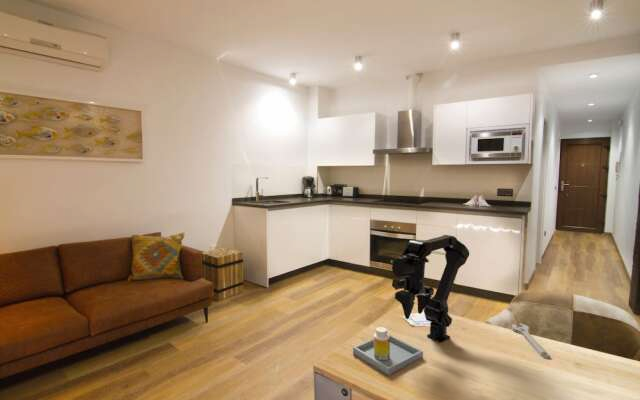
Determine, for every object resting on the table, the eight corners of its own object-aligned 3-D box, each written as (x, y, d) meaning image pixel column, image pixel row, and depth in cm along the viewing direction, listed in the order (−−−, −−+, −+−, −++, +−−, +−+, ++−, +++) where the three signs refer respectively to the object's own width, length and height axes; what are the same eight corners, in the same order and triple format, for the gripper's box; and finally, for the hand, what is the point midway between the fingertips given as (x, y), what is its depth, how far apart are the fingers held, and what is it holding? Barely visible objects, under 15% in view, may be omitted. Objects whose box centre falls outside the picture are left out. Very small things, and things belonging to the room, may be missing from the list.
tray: (386, 339, 137) (386, 333, 137) (422, 357, 123) (422, 351, 123) (353, 353, 127) (353, 347, 127) (388, 376, 113) (388, 368, 113)
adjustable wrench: (550, 360, 120) (551, 355, 120) (530, 358, 122) (530, 353, 122) (525, 327, 144) (526, 323, 144) (509, 326, 146) (509, 322, 146)
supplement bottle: (391, 361, 120) (390, 333, 120) (375, 361, 121) (374, 333, 120) (388, 352, 126) (388, 325, 125) (373, 352, 126) (372, 325, 125)
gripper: (409, 267, 140) (407, 305, 140) (383, 273, 127) (380, 314, 127) (435, 273, 132) (432, 313, 133) (410, 279, 119) (407, 324, 119)
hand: (413, 316), depth 128 cm, fingers open, 9 cm apart
